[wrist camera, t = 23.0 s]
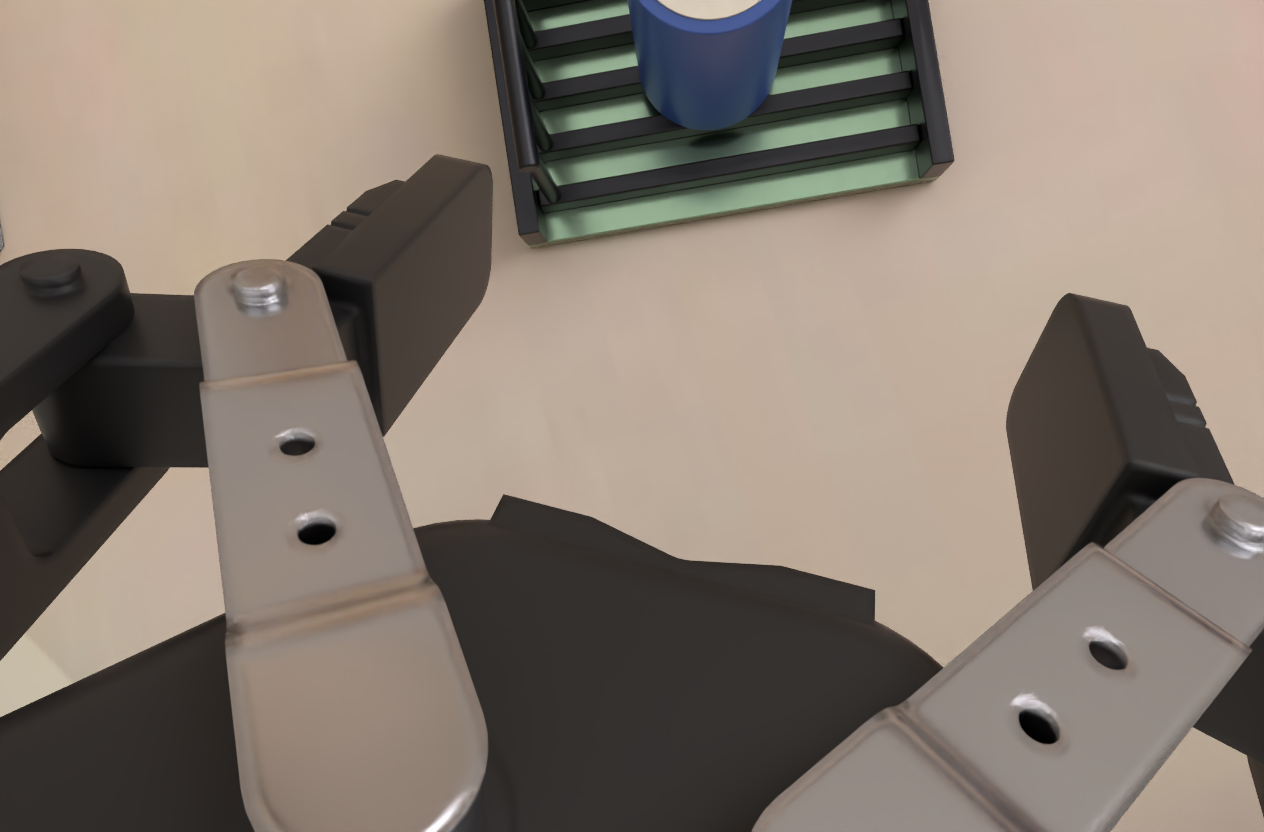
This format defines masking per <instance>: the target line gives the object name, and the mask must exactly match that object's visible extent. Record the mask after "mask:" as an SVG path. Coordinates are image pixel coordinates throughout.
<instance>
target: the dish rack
mask: <svg viewBox="0 0 1264 832" xmlns="http://www.w3.org/2000/svg"><path fill="white" fill-rule="evenodd" d="M484 4H485V10H486V17H487V24H488V31H489V37H490V44H491V51H492V57H493V64H494V71H495V78H496V84H497V91H498V98H499V105H500V111H501V118H502V125H503V131H504V138H505V145H506V152H507V158H508V165H509V172H510V179H511V185H512V192H513V199H514V205H515V212H516V219H517V226H518V232H519V235H520V236H521V238H522V239H523V240H524V241H525V242H526V243H527V244H528V245H529V246H530V247H531V248H537V247H543V246H549V245H555V244H561V243H567V242H573V241H578V240H584V239H590V238H596V237H602V236H608V235H614V234H620V233H626V232H632V231H638V230H644V229H650V228H656V227H661V226H667V225H673V224H679V223H685V222H691V221H697V220H703V219H709V218H715V217H721V216H727V215H733V214H738V213H744V212H750V211H756V210H762V209H768V208H774V207H780V206H786V205H792V204H798V203H804V202H810V201H815V200H821V199H827V198H833V197H839V196H845V195H851V194H857V193H863V192H869V191H875V190H881V189H887V188H893V187H898V186H904V185H910V184H916V183H922V182H928V181H934V180H937V179H938V178H939V176H940V175H942V174H943V173H944V171H945V170H946V169H947V168H948V167H949V166H950V165H951V164H952V163H953V162H954V155H953V149H952V142H951V136H950V130H949V124H948V118H947V112H946V106H945V100H944V94H943V88H942V82H941V75H940V69H939V63H938V57H937V51H936V45H935V39H934V33H933V27H932V21H931V15H930V9H929V2H928V0H792V4H791V8H790V13H789V17H788V22H787V26H786V31H785V35H784V40H783V45H782V49H781V54H780V58H779V63H778V67H777V72H776V76H775V79H774V83H773V85H772V87H771V90H770V92H769V93H768V95H767V97H766V99H765V100H764V101H763V103H762V104H761V105H760V106H759V107H758V108H757V109H756V110H755V111H754V112H753V113H752V114H751V115H749V116H748V117H747V118H745V119H744V120H742V121H740V122H739V123H736V124H734V125H732V126H729V127H726V128H722V129H717V130H694V129H690V128H686V127H683V126H680V125H678V124H676V123H674V122H672V121H670V120H669V119H667V118H666V117H664V116H663V115H662V114H661V113H660V112H659V111H658V110H657V109H656V108H655V107H654V106H653V105H652V103H651V102H650V101H649V99H648V97H647V96H646V94H645V92H644V89H643V87H642V84H641V80H640V76H639V70H638V64H637V58H636V51H635V45H634V39H633V33H632V26H631V20H630V14H629V8H628V2H627V0H484Z"/></svg>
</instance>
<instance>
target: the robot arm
mask: <svg viewBox="0 0 1264 832" xmlns="http://www.w3.org/2000/svg"><path fill="white" fill-rule="evenodd" d="M492 197H493V180H492V173H491V170H490V168H489V166H488V165H485V164H480V163H475V162H471V161H466V160H462V159H457V158H452V157H448V156H443V155H438V154H437V155H435V156H433V157H432V158H431V159H430V160H429V161H428V162H427V163H426V164H424V165H423V166H422V167H421V168H420V169H419V170H418V171H417V172H416V173H415V174H414V175H412V176H411V177H410V178H409V179H408V180H407V181H406V182H404V181H400V180H394V181H392V182H389V183H387V184H384V185H381V186H379V187H376V188H373V189H371V190H368V191H366V192H365V193H363V194H362V195H361V196H360V197H359V198H358V199H356V200H355V201H354V202H353V203H352V204H351V205H350V206H348V207H347V211H346V212H345V211H343V212H341V213H340V214H339V215H338V216H337V217H336V218H335V219H333V220H332V221H331V225H326V226H325V227H324V228H323V229H322V230H321V231H320V232H318V233H317V234H316V235H315V236H314V237H313V238H311V239H310V240H309V241H308V242H307V243H306V244H304V245H303V246H302V247H301V248H300V249H299V250H298V251H296V252H295V253H294V254H293V255H292V256H291V257H289V258H288V259H287V260H286V261H283V260H273V259H260V260H249V261H242V262H238V263H233V264H230V265H227V266H224V267H221V268H219V269H217V270H215V271H213V272H211V273H210V274H208V275H207V276H205V277H204V278H203V279H202V280H201V281H200V282H199V283H198V285H197V286H196V289H195V291H194V295H163V294H137V293H130V291H129V288H128V284H127V281H126V277H125V274H124V270H123V268H122V266H121V264H120V263H119V262H118V261H117V260H115V259H114V258H112V257H111V256H108V255H106V254H103V253H99V252H96V251H90V250H83V249H57V250H48V251H42V252H36V253H32V254H28V255H25V256H21V257H18V258H15V259H13V260H11V261H8V262H6V263H4V264H2V265H0V440H1V439H2V437H3V436H4V435H5V433H6V432H7V431H8V430H9V429H10V428H12V427H13V426H14V425H15V424H16V423H17V422H19V421H20V420H21V419H22V418H23V417H24V416H26V415H27V414H28V413H29V412H30V411H31V410H32V411H33V413H34V416H35V418H36V421H37V423H38V426H39V428H40V431H41V433H42V434H40V435H39V436H38V437H37V438H36V439H35V440H34V441H33V442H32V443H31V444H29V445H28V446H27V447H26V448H25V449H24V450H23V451H22V452H21V453H19V454H18V455H17V456H16V457H15V458H14V459H13V460H12V461H11V462H10V463H8V464H7V465H6V466H5V467H4V468H3V469H2V470H1V471H0V660H1V659H2V658H3V657H4V656H5V655H6V654H7V653H8V652H9V650H10V649H11V648H12V647H13V646H14V644H16V642H17V641H18V640H19V639H20V638H21V637H22V636H23V635H24V633H25V632H26V631H27V630H28V629H29V628H30V627H31V625H32V624H33V623H34V622H35V621H36V620H37V619H38V617H39V616H40V615H41V614H42V613H43V612H44V611H45V610H46V608H47V607H48V606H49V605H50V604H51V603H52V602H53V600H54V599H55V598H56V597H57V596H58V595H59V594H60V592H61V591H62V590H63V589H64V588H65V587H66V586H67V585H68V583H69V582H70V581H71V580H72V579H73V578H74V577H75V575H76V574H77V573H78V572H79V571H80V570H81V569H82V567H83V566H84V565H85V564H86V563H87V562H88V561H89V560H90V558H91V557H92V556H93V555H94V554H95V553H96V552H97V550H98V549H99V548H100V547H101V546H102V545H103V544H104V542H105V541H106V540H107V539H108V538H109V537H110V536H111V535H112V533H113V532H114V531H115V530H116V529H117V528H118V527H119V525H120V524H121V523H122V522H123V521H124V520H125V519H126V517H127V516H128V515H129V514H130V513H131V512H132V511H133V509H134V508H135V507H136V506H137V505H138V504H139V503H140V502H141V500H142V499H143V498H144V497H145V496H146V495H147V494H148V492H149V491H150V490H151V489H152V488H153V487H154V486H155V484H156V483H157V482H158V481H159V480H160V479H161V478H162V477H163V475H164V474H165V473H166V472H167V471H168V469H169V468H170V467H209V474H210V483H211V492H212V500H213V509H214V517H215V526H216V535H217V543H218V552H219V561H220V569H221V578H222V586H223V595H224V604H225V612H226V613H224V614H222V615H219V616H217V617H215V618H213V619H211V620H209V621H206V622H204V623H202V624H200V625H198V626H196V627H194V628H191V629H189V630H187V631H185V632H183V633H181V634H178V635H176V636H174V637H172V638H170V639H168V640H166V641H163V642H161V643H159V644H157V645H155V646H153V647H151V648H148V649H146V650H144V651H142V652H140V653H138V654H135V655H133V656H131V657H129V658H127V659H125V660H123V661H120V662H118V663H116V664H114V665H112V666H110V667H107V668H105V669H103V670H101V671H99V672H97V673H95V674H92V675H90V676H88V677H86V678H84V679H82V680H80V681H77V682H75V683H73V684H71V685H69V686H67V687H65V688H62V689H60V690H58V691H56V692H54V693H52V694H49V695H47V696H45V697H43V698H41V699H39V700H37V701H35V702H33V703H30V704H28V705H26V706H24V707H21V708H19V709H17V710H15V711H13V712H11V713H9V714H6V715H4V716H2V717H0V832H1110V831H1111V830H1112V829H1113V827H1114V826H1115V825H1116V824H1117V822H1118V821H1119V820H1120V818H1121V817H1122V816H1123V815H1124V813H1125V812H1126V811H1127V810H1128V808H1129V807H1130V806H1131V804H1132V803H1133V802H1134V801H1135V799H1136V798H1137V797H1138V796H1139V794H1140V793H1141V792H1142V790H1143V789H1144V788H1145V787H1146V785H1147V784H1148V783H1149V782H1150V780H1151V779H1152V778H1153V777H1154V775H1155V774H1156V773H1157V771H1158V770H1159V769H1160V768H1161V766H1162V765H1163V764H1164V763H1165V761H1166V760H1167V759H1168V757H1169V756H1170V755H1171V754H1172V752H1173V751H1174V750H1175V749H1176V747H1177V746H1178V745H1179V743H1180V742H1181V741H1182V740H1183V738H1184V737H1185V736H1186V735H1187V733H1188V732H1189V731H1190V729H1191V728H1192V727H1194V728H1196V729H1198V730H1199V731H1201V732H1203V733H1205V734H1207V735H1209V736H1211V737H1213V738H1215V739H1217V740H1219V741H1221V742H1222V743H1224V744H1226V745H1228V746H1230V747H1232V748H1234V749H1236V750H1238V751H1240V752H1242V753H1243V754H1245V755H1247V757H1248V763H1249V767H1250V770H1251V774H1252V777H1253V781H1254V784H1255V788H1256V792H1257V795H1258V799H1259V802H1260V806H1261V809H1262V813H1263V816H1264V498H1262V497H1260V496H1259V495H1257V494H1255V493H1253V492H1251V491H1248V490H1246V489H1244V488H1242V487H1239V486H1236V485H1234V482H1233V480H1232V478H1231V476H1230V474H1229V471H1228V469H1227V467H1226V465H1225V463H1224V460H1223V458H1222V456H1221V454H1220V452H1219V450H1218V447H1217V445H1216V443H1215V441H1214V439H1213V436H1212V434H1211V432H1210V430H1209V429H1208V428H1205V425H1206V421H1205V419H1204V417H1203V415H1202V412H1201V410H1200V408H1199V407H1196V403H1197V401H1196V399H1195V397H1194V395H1193V393H1192V390H1191V388H1190V386H1189V384H1188V382H1187V380H1186V377H1185V376H1184V375H1183V374H1182V373H1181V372H1180V371H1179V370H1178V369H1177V368H1176V367H1175V366H1174V365H1173V364H1172V363H1171V362H1170V361H1169V360H1168V359H1167V358H1166V357H1165V356H1164V355H1163V354H1162V353H1161V352H1160V351H1159V350H1155V349H1150V348H1147V347H1146V345H1145V343H1144V340H1143V338H1142V335H1141V333H1140V331H1139V328H1138V326H1137V323H1136V321H1135V319H1134V316H1133V314H1132V311H1131V309H1130V308H1129V307H1128V306H1126V305H1122V304H1118V303H1113V302H1108V301H1104V300H1099V299H1095V298H1090V297H1085V296H1081V295H1076V294H1072V293H1068V294H1066V295H1064V296H1063V297H1062V298H1061V300H1060V301H1059V302H1058V304H1057V305H1056V307H1055V309H1054V310H1053V312H1052V314H1051V316H1050V318H1049V320H1048V322H1047V324H1046V326H1045V328H1044V330H1043V332H1042V334H1041V336H1040V338H1039V340H1038V342H1037V344H1036V346H1035V348H1034V350H1033V352H1032V354H1031V356H1030V358H1029V360H1028V362H1027V364H1026V366H1025V368H1024V370H1023V372H1022V374H1021V376H1020V378H1019V380H1018V382H1017V384H1016V386H1015V388H1014V391H1013V393H1012V396H1011V399H1010V403H1009V407H1008V412H1007V420H1006V430H1007V437H1008V443H1009V449H1010V455H1011V461H1012V467H1013V473H1014V479H1015V485H1016V491H1017V497H1018V504H1019V510H1020V516H1021V522H1022V528H1023V534H1024V540H1025V546H1026V552H1027V558H1028V564H1029V570H1030V576H1031V583H1032V589H1033V592H1031V593H1030V594H1029V595H1028V596H1027V597H1026V598H1024V599H1023V600H1022V601H1021V602H1020V603H1019V604H1017V605H1016V606H1015V607H1014V608H1013V609H1012V610H1010V611H1009V612H1008V613H1007V614H1006V615H1005V616H1003V617H1002V618H1001V619H1000V620H999V621H998V622H996V623H995V624H994V625H993V626H992V627H991V628H990V629H988V630H987V631H986V632H985V633H984V634H983V635H981V636H980V637H979V638H978V639H977V640H976V641H974V642H973V643H972V644H971V645H970V646H969V647H967V648H966V649H965V650H964V651H963V652H962V653H960V654H959V655H958V656H957V657H956V658H955V659H953V660H952V661H951V662H950V663H949V664H948V665H946V666H945V667H944V668H943V667H942V666H941V665H940V664H939V663H938V662H936V661H935V660H934V659H933V658H932V657H931V656H930V655H928V654H927V653H926V652H925V651H923V650H922V649H921V648H919V647H918V646H916V645H915V644H914V643H912V642H911V641H910V640H908V639H907V638H905V637H903V636H902V635H900V634H898V633H897V632H895V631H893V630H892V629H890V628H888V627H887V626H885V625H883V624H881V623H879V622H877V621H875V590H872V589H868V588H864V587H861V586H857V585H853V584H849V583H845V582H841V581H837V580H833V579H830V578H826V577H822V576H818V575H814V574H810V573H806V572H802V571H799V570H795V569H791V568H787V567H783V566H774V565H757V564H739V563H722V562H705V561H689V560H683V559H679V558H676V557H673V556H671V555H669V554H667V553H665V552H663V551H661V550H658V549H656V548H654V547H652V546H650V545H648V544H646V543H644V542H642V541H640V540H638V539H636V538H634V537H632V536H630V535H628V534H625V533H623V532H621V531H619V530H617V529H615V528H613V527H611V526H609V525H607V524H605V523H603V522H601V521H599V520H597V519H595V518H593V517H589V516H585V515H582V514H578V513H574V512H570V511H566V510H562V509H558V508H555V507H551V506H547V505H543V504H539V503H535V502H531V501H527V500H524V499H520V498H516V497H512V496H508V495H504V494H503V496H502V498H501V500H500V502H499V504H498V506H497V508H496V510H495V512H494V514H493V516H492V518H491V520H478V519H477V520H456V521H448V522H441V523H434V524H430V525H426V526H422V527H417V528H413V527H412V524H411V521H410V518H409V515H408V512H407V509H406V506H405V503H404V500H403V497H402V494H401V491H400V488H399V485H398V482H397V479H396V476H395V473H394V470H393V467H392V463H391V460H390V457H389V454H388V451H387V448H386V445H385V442H384V439H383V437H384V436H385V434H386V433H387V432H388V430H389V429H390V428H391V426H392V425H393V423H394V422H395V421H396V419H397V418H398V416H399V415H400V414H401V412H402V411H403V410H404V408H405V407H406V405H407V404H408V403H409V401H410V400H411V399H412V397H413V396H414V394H415V393H416V392H417V390H418V389H419V388H420V386H421V385H422V383H423V382H424V381H425V379H426V378H427V377H428V375H429V374H430V372H431V371H432V370H433V368H434V367H435V365H436V364H437V363H438V361H439V360H440V359H441V357H442V356H443V354H444V353H445V352H446V350H447V349H448V348H449V346H450V345H451V343H452V342H453V341H454V339H455V338H456V337H457V335H458V334H459V332H460V331H461V330H462V328H463V327H464V325H465V324H466V323H467V321H468V320H469V319H470V317H471V316H472V314H473V313H474V312H475V310H476V309H477V308H478V306H479V305H480V303H481V301H482V299H483V297H484V295H485V292H486V289H487V285H488V281H489V277H490V270H491V246H492Z"/></svg>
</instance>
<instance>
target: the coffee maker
mask: <svg viewBox="0 0 1264 832" xmlns="http://www.w3.org/2000/svg"><path fill="white" fill-rule="evenodd" d="M2 247H3V239H2V233H1V226H0V250H1V249H2Z"/></svg>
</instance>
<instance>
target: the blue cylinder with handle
mask: <svg viewBox="0 0 1264 832" xmlns="http://www.w3.org/2000/svg"><path fill="white" fill-rule="evenodd" d="M627 2H628V8H629V14H630V20H631V26H632V33H633V39H634V45H635V51H636V58H637V64H638V70H639V76H640V80H641V84H642V87H643V89H644V92H645V94H646V96H647V97H648V99H649V101H650V102H651V103H652V105H653V106H654V107H655V108H656V109H657V110H658V111H659V112H660V113H661V114H662V115H663V116H664V117H666V118H667V119H669V120H670V121H672V122H674V123H676V124H678V125H680V126H683V127H686V128H690V129H694V130H717V129H722V128H726V127H729V126H732V125H734V124H736V123H739V122H740V121H742V120H744V119H745V118H747V117H748V116H749V115H751V114H752V113H753V112H754V111H755V110H756V109H757V108H758V107H759V106H760V105H761V104H762V103H763V101H764V100H765V99H766V97H767V95H768V93H769V92H770V90H771V87H772V85H773V83H774V79H775V76H776V72H777V67H778V63H779V58H780V54H781V49H782V45H783V40H784V35H785V31H786V26H787V22H788V17H789V13H790V8H791V4H792V0H627Z"/></svg>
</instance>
